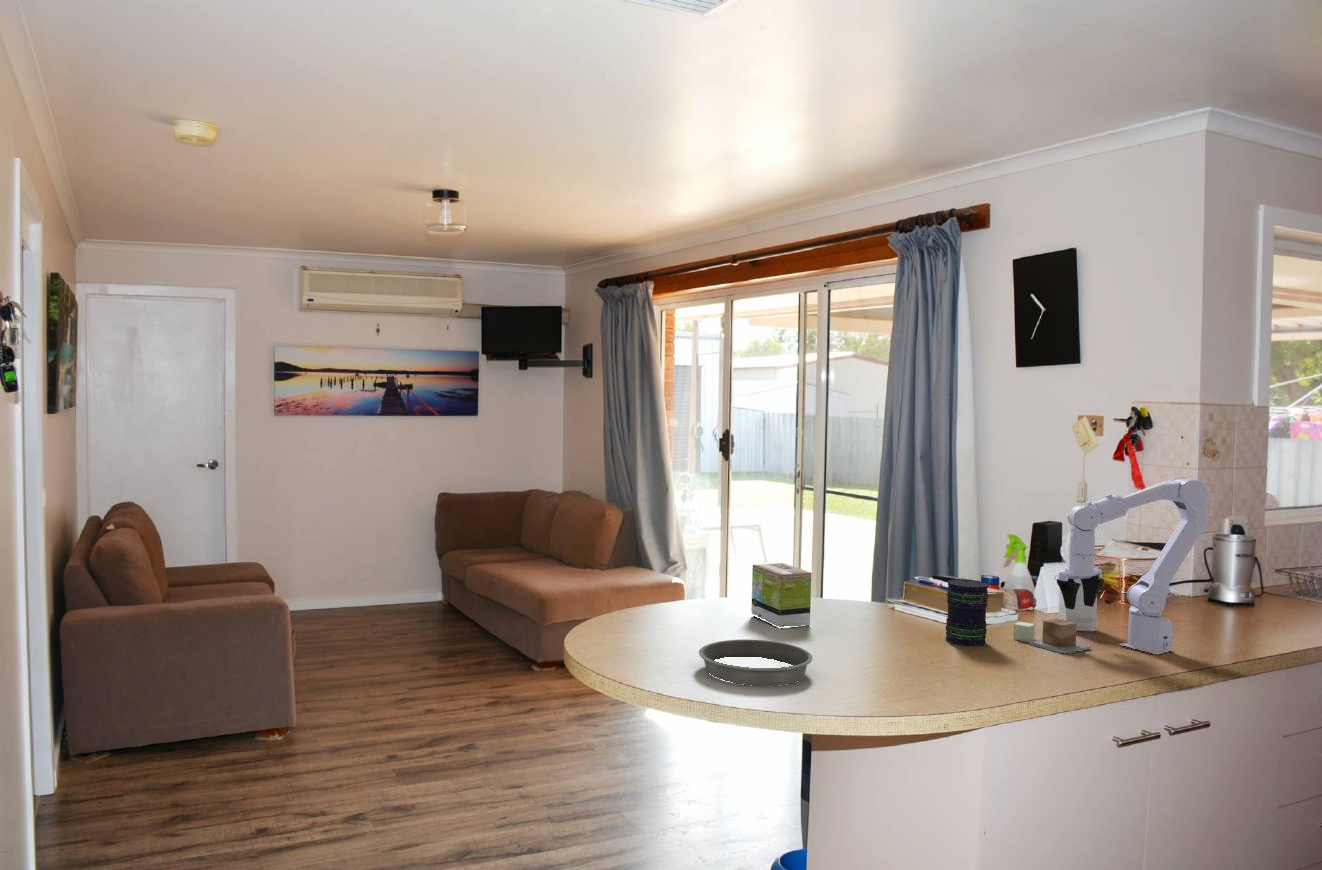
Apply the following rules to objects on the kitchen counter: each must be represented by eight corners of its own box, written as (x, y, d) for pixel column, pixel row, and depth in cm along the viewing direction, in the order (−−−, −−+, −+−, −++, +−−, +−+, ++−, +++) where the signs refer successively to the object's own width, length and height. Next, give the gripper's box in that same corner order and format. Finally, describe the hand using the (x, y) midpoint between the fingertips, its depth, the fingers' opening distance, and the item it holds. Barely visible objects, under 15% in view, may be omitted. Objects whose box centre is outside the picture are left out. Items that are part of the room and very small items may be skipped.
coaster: (1090, 649, 234) (1090, 646, 234) (1064, 654, 229) (1064, 651, 229) (1055, 640, 243) (1055, 637, 243) (1029, 644, 238) (1029, 641, 238)
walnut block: (1075, 645, 235) (1076, 623, 235) (1061, 647, 232) (1062, 625, 232) (1056, 640, 240) (1057, 618, 240) (1042, 642, 237) (1043, 620, 237)
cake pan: (740, 652, 223) (740, 633, 223) (832, 673, 208) (833, 653, 208) (675, 673, 204) (676, 652, 204) (771, 698, 189) (772, 675, 189)
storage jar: (988, 648, 233) (991, 588, 232) (947, 645, 235) (949, 585, 234) (983, 638, 243) (985, 580, 242) (943, 635, 244) (945, 578, 244)
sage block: (1034, 639, 244) (1034, 624, 243) (1029, 642, 240) (1029, 626, 240) (1018, 636, 246) (1019, 621, 246) (1013, 639, 243) (1013, 624, 243)
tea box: (749, 617, 260) (751, 563, 259) (780, 614, 264) (782, 561, 263) (778, 629, 246) (780, 573, 246) (811, 627, 250) (813, 571, 250)
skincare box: (1088, 627, 259) (1090, 570, 259) (1097, 632, 253) (1099, 574, 252) (1056, 625, 260) (1059, 569, 260) (1064, 631, 254) (1067, 573, 253)
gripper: (1085, 549, 246) (1083, 601, 246) (1049, 553, 238) (1047, 606, 239) (1110, 553, 240) (1108, 607, 240) (1074, 557, 232) (1071, 612, 233)
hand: (1079, 607), depth 239 cm, fingers open, 7 cm apart
